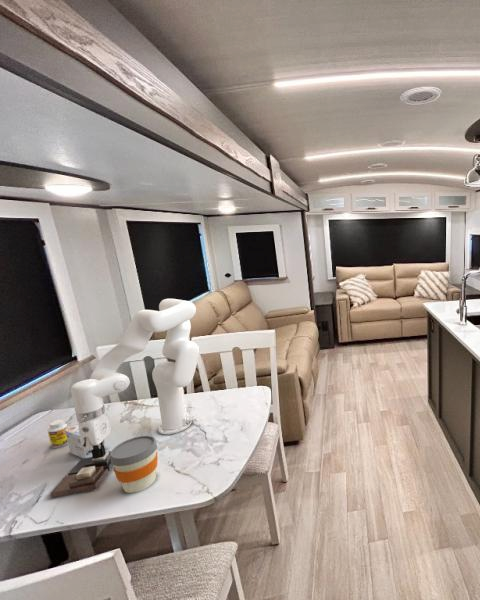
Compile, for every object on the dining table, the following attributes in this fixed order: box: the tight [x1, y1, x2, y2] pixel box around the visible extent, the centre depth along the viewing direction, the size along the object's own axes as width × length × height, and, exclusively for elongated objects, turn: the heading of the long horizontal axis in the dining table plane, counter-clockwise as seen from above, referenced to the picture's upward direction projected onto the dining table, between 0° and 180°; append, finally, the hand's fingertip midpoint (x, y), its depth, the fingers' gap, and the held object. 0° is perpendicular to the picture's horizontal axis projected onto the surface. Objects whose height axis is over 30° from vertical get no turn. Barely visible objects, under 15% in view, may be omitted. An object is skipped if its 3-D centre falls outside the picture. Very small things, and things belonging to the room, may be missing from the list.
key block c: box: [67, 450, 114, 476], centre depth 119 cm, size 12×8×4 cm, turn 109°
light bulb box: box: [65, 423, 106, 459], centre depth 127 cm, size 11×7×11 cm, turn 71°
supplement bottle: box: [47, 419, 69, 448], centre depth 131 cm, size 6×6×10 cm
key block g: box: [50, 466, 109, 499], centre depth 111 cm, size 12×8×4 cm, turn 109°
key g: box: [76, 466, 96, 480], centre depth 111 cm, size 4×4×2 cm
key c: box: [92, 451, 109, 462], centre depth 119 cm, size 4×4×2 cm
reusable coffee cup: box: [110, 435, 158, 494], centre depth 111 cm, size 13×13×15 cm
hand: (99, 456), depth 119 cm, fingers closed
